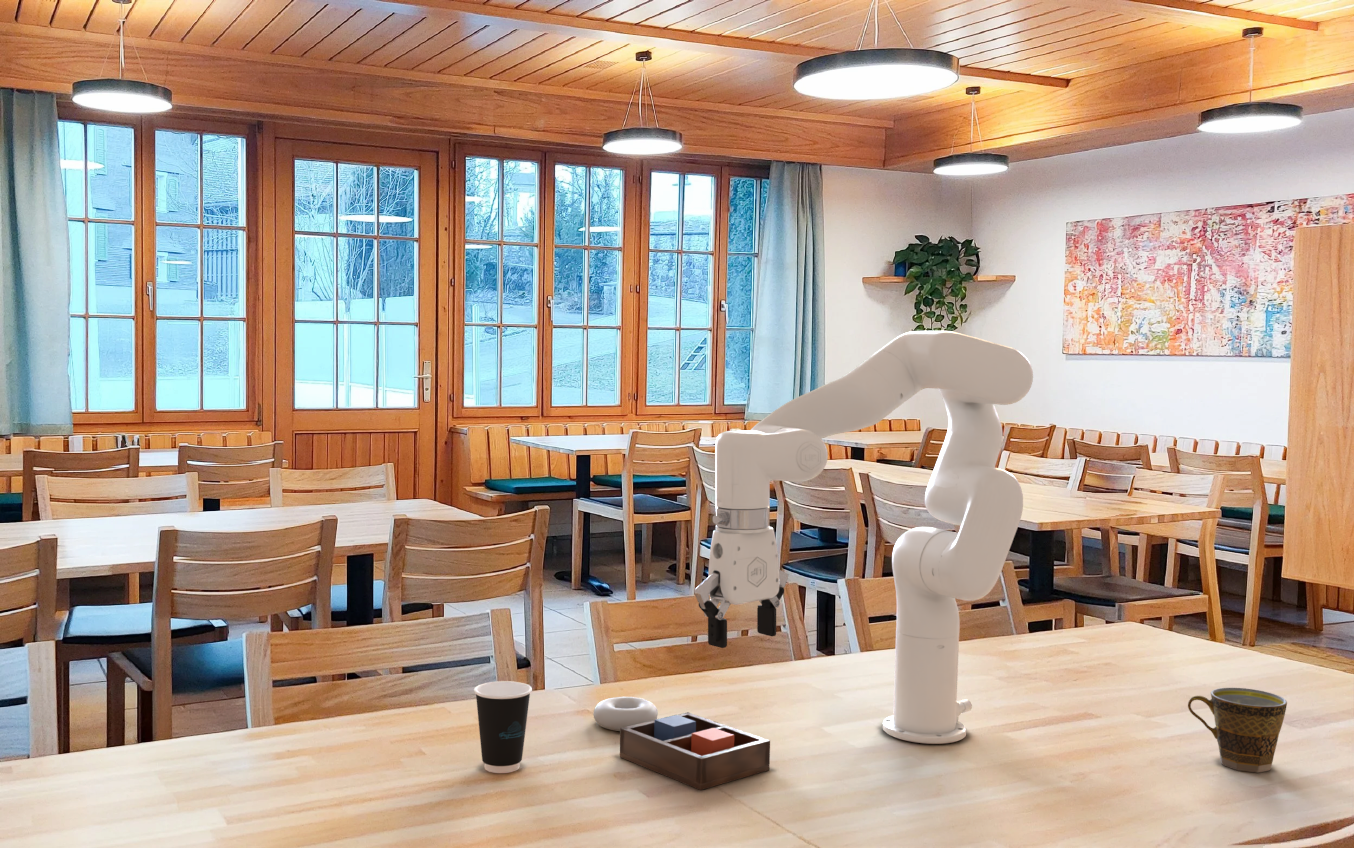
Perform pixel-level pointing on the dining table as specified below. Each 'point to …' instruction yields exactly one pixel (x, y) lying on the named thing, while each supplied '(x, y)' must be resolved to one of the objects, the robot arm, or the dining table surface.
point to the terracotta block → (711, 741)
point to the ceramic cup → (1245, 726)
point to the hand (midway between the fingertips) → (742, 640)
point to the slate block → (673, 727)
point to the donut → (624, 712)
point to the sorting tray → (689, 766)
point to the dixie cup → (502, 723)
